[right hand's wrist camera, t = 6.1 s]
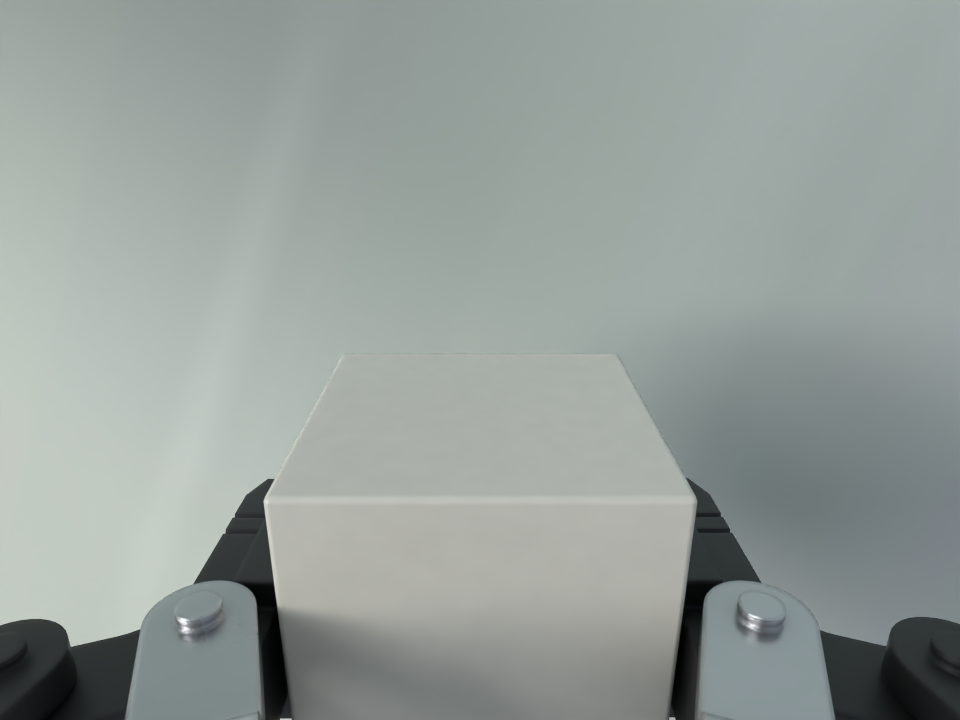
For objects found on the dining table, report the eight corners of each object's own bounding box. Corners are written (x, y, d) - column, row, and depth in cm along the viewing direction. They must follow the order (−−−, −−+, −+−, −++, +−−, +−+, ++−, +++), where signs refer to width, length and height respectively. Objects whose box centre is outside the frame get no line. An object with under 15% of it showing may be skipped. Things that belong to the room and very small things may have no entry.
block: (360, 600, 13) (304, 835, 9) (341, 352, 12) (260, 498, 7) (599, 599, 13) (656, 834, 9) (618, 351, 12) (701, 498, 7)
